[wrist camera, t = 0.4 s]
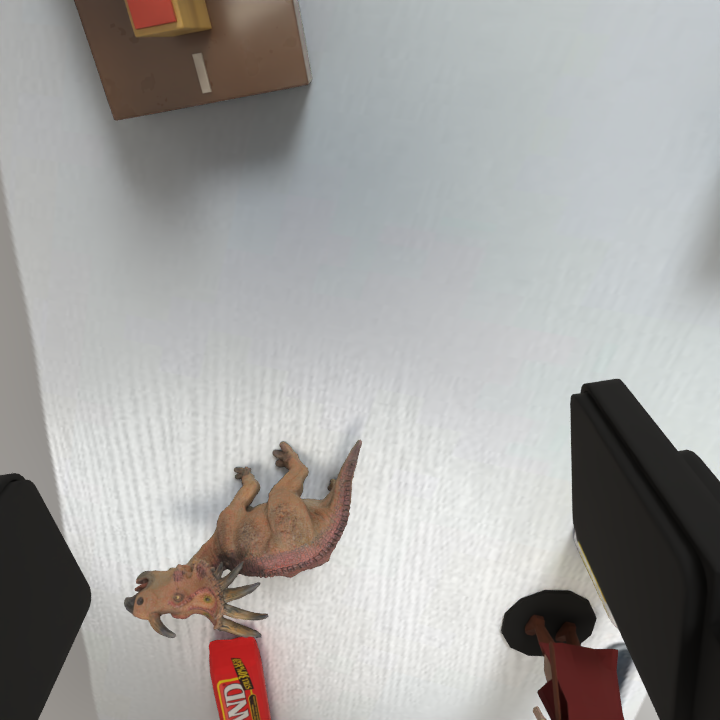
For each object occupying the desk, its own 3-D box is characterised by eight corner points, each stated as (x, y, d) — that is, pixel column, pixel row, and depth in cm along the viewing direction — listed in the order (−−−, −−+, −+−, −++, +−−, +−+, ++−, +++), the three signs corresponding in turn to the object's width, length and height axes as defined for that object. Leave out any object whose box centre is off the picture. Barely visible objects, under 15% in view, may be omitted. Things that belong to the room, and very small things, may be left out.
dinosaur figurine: (219, 561, 40) (186, 695, 32) (162, 501, 38) (110, 631, 30) (402, 475, 37) (417, 600, 29) (352, 405, 35) (354, 519, 26)
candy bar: (281, 753, 51) (277, 793, 48) (236, 755, 50) (230, 794, 48) (260, 621, 43) (255, 659, 40) (208, 622, 43) (199, 661, 40)
